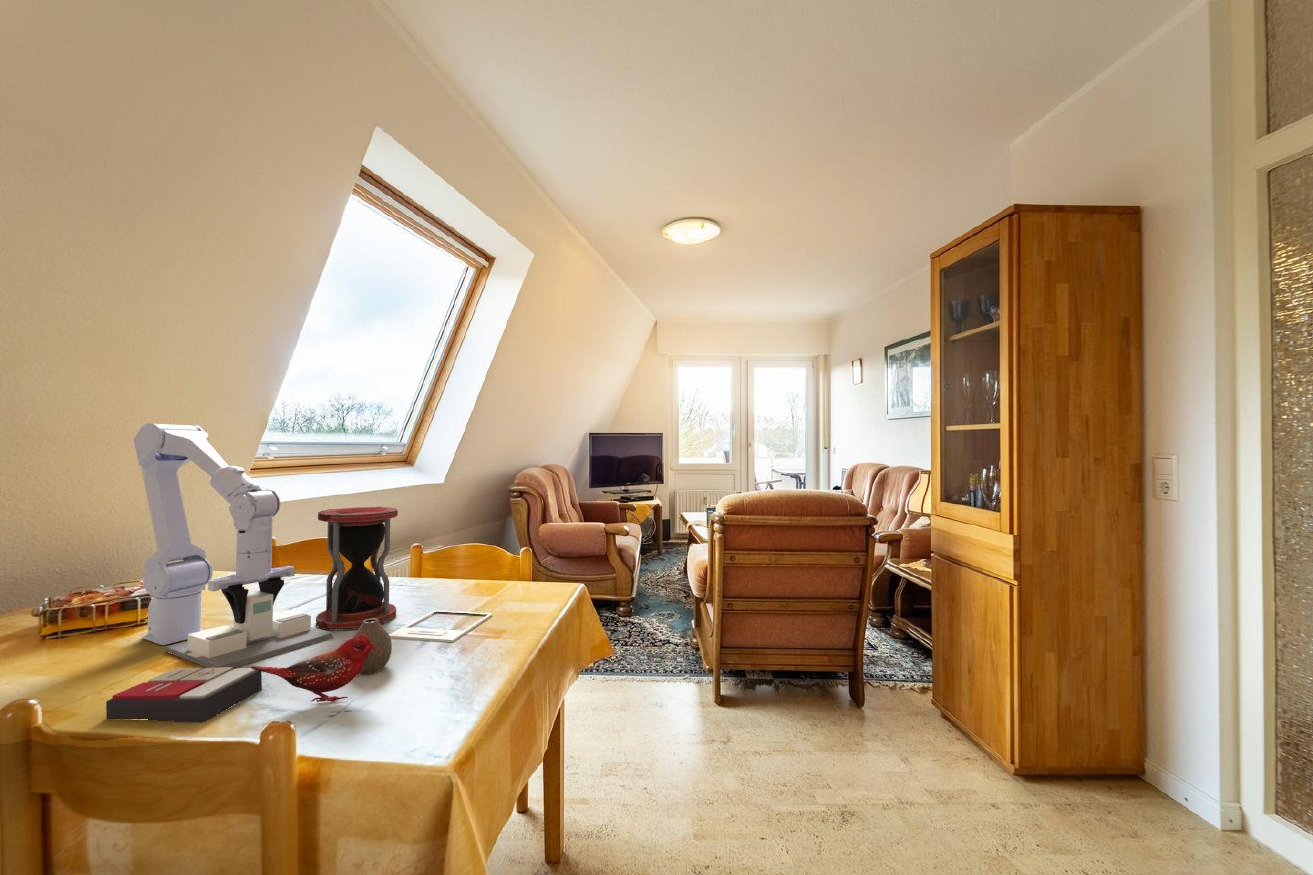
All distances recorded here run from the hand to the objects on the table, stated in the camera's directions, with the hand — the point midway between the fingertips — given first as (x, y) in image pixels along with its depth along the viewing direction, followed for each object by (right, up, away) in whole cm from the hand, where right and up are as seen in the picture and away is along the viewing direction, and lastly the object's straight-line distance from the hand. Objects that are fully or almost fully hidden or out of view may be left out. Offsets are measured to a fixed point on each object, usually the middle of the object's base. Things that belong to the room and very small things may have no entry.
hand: (252, 619), depth 109 cm
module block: (0, -3, 0) cm, 3 cm away
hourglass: (+12, -6, +16) cm, 21 cm away
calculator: (+9, -5, -25) cm, 27 cm away
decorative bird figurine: (+28, -5, -25) cm, 37 cm away
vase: (+30, -5, -12) cm, 33 cm away
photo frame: (+33, -6, +12) cm, 36 cm away
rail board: (0, -5, 0) cm, 5 cm away
